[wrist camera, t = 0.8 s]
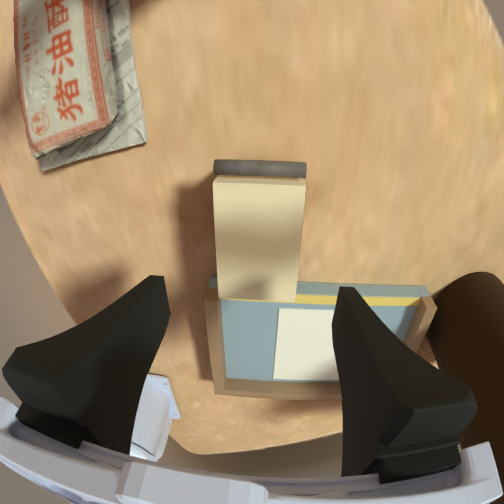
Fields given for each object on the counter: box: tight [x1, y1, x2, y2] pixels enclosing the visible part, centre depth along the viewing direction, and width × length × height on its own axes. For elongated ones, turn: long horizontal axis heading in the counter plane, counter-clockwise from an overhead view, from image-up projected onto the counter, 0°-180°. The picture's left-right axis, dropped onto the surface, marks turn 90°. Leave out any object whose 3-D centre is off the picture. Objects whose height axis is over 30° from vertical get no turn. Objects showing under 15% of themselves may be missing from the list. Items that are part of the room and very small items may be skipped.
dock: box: [203, 277, 437, 400], centre depth 26 cm, size 12×18×3 cm, turn 90°
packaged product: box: [13, 0, 149, 171], centre depth 14 cm, size 18×5×10 cm
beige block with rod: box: [213, 160, 306, 302], centre depth 19 cm, size 8×4×6 cm, turn 0°
